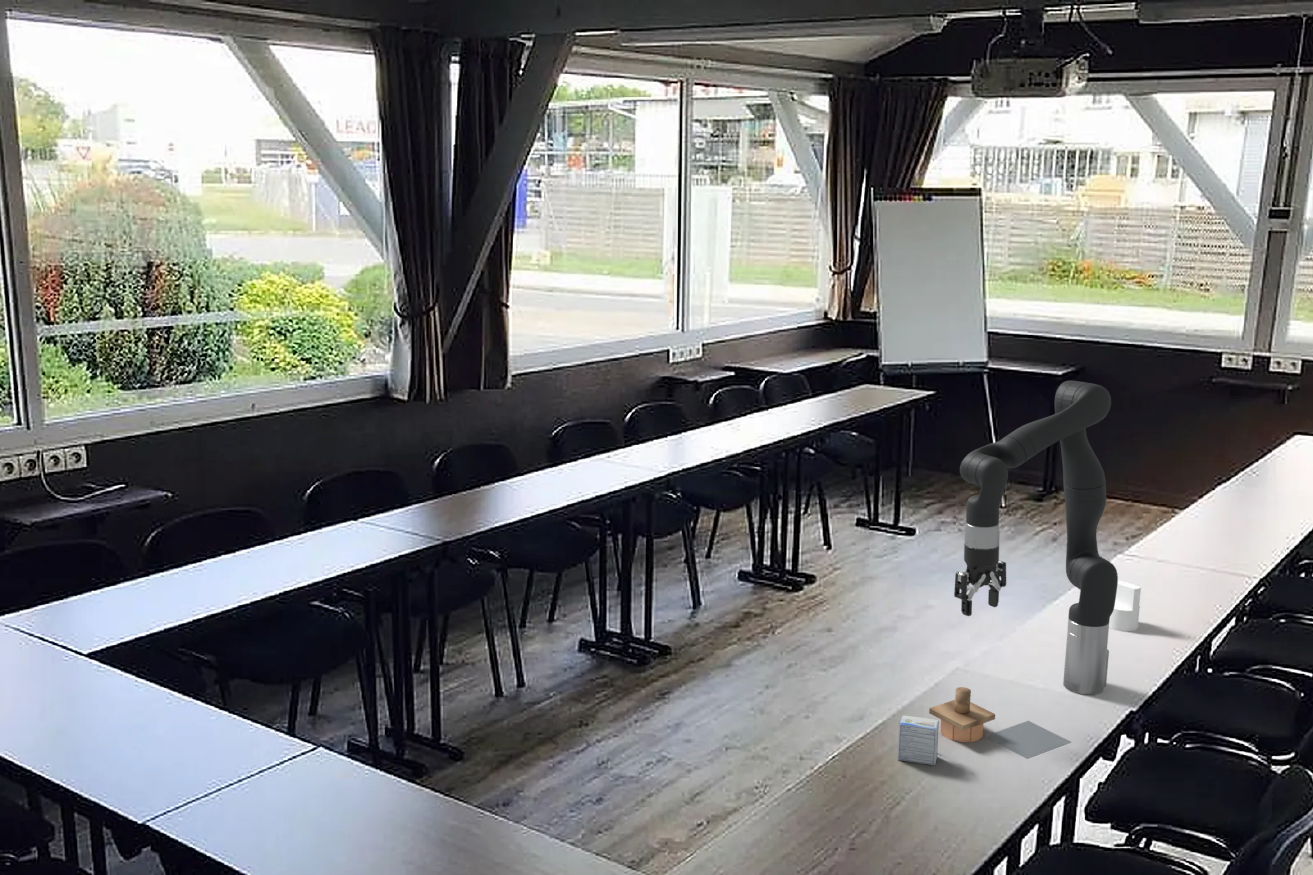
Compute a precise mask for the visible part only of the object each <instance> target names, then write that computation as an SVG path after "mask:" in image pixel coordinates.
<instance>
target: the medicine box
mask: <svg viewBox="0 0 1313 875" xmlns="http://www.w3.org/2000/svg"><path fill="white" fill-rule="evenodd" d="M939 729H940V722H939V720H938V719H932V718H927V717H920V716H919V717H918V716H911V715H905V714H904V715H902V716H901V719H900V721H899V724H898V745H897V746H898V750H897V761H902V762H910V763H917V764H923V765H929V766H936V764H937V763H936V762H937V758H938V747H939Z"/></svg>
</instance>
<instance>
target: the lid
mask: <svg viewBox="0 0 1313 875" xmlns="http://www.w3.org/2000/svg"><path fill="white" fill-rule="evenodd" d="M971 690H972V689H971V688H968V687H963V686H960V687H956V688H955V697H954V699H953V700H950V701H947V702H944V703H941V704H939V705H935V706H932V707H930V708H929V710H928V714H929V715H931V716H934V717H935V718H938V719H939V720H940V721H941V720H943V721H945V722H947V723H949V724H951V725H953V726H955V727H957V728H958V729H960V730H962V731H963V730H966V729H969V728H972V727H975V726H977V725H980V724H983V725H984V724H985V723H988V722H991V721H993V720H996V713H994V712H992V711H990V710H988V709H985V708H984V707H982V706H980V705H978V704H975V703H973V702H971V696H972V695H971V693H972V691H971Z"/></svg>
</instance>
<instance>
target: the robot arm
mask: <svg viewBox="0 0 1313 875" xmlns="http://www.w3.org/2000/svg"><path fill="white" fill-rule="evenodd" d="M1054 395H1055V396H1054V412H1055V413H1054V414H1052V415H1049V416H1047V417H1043V418H1041V419H1040V418H1039V419H1037V420H1035V421H1032V422H1028V423H1026V424H1024V425H1021V426H1020V427H1018V428H1016V429H1015V430H1014V431H1012V432H1010V433H1008V434H1007V435H1006V436H1003V438H1001V439H1000V440H997V441H995V442H992V443H988V444H986V445H984V446H981V447H979V448H977V449H974V450H972V451H971V452H969V453H968V454H966V456H965V457H964V458H963V459H962V461H961V463H960V466H959V473H960V476H961V478H962V479H963V480H964V481H965V482H967V483H969V484H970V485H971V484H972V485H975V486H977V487H980V492H979V494H974V495H972V496H970V497H969V498H968V499H967V502H966V512H965V514H966V515H965V528H964V538H963V539H964V540H963V541H964V544H963V546H964V547H963V561H964V562H965V565H966V568H965V571H963V572H960V571H956V572H955V575H954V576H955V580H954V594H953V595H954V598H957V599H959V600H961V601H960V602H961V606H960V607H961V610H960V611H961V613H962V615H963V616H967V617H970V616H972V615H973V611H972V610H973V600H972V599H973V596H974V595H975V594H976V593H977V592H978V591H979V589H980V588H982V587H984V586H987V587H988V588H989V589H988V598H987V599H988V601H987V602H988V603H987V604H988V605H989V606H991V607H993V608H997V607H998V606H999V602H1000V599H999V598H1000V591H1001V590H1002V588H1005V587H1006V586H1007V562H1005V561H1002V560H1000V536H1001V535H1000V523H999V522H1000V505H1001V502H1002V499H1003V496H1004V492H1005V490H1006V486H1007V482H1008V478H1009V472H1008V471H1009V470H1008V469H1015V468H1018V467H1020V466H1021V465H1023V464H1025V463H1026V462H1027V461H1029V460H1030V459H1031V458H1033V457H1034V456H1036V455H1038V453H1040V452H1042V451H1044V450H1045V449H1047V448H1048V447H1050V446H1051V445H1054V444H1056V443H1057V442H1059V444H1060V449H1061V450H1060V452H1061V460H1062V461H1061V462H1062V473H1063V474H1062V475H1063V498H1064V504H1065V521H1066V522H1065V523H1066V524H1065V525H1066V554H1065V555H1066V556H1065V572H1066V578H1067V580H1068V581H1069V583H1070V584H1071V585H1072V586H1074V587H1075V588H1077V589H1078V590H1079V591H1080V592H1079V599H1078V602H1077V603H1076V602H1075V603H1073V604H1072V605H1070V607H1069V609H1068V620H1067V633H1066V643H1065V644H1066V645H1065V657H1064V670H1063V681H1062V682H1063V687H1064V688H1066V689H1067V690H1068V691H1070V692H1073V693H1077V694H1082V695H1098V694H1100V693H1102V692H1103V691H1104V689H1105V687H1107V680H1108V666H1109V656H1110V650H1109V649H1108V643H1109V642H1108V641H1109V630H1110V628H1109V620H1110V616H1111V614H1112V612H1113V610H1114V606H1115V599H1116V592H1117V585H1118V580H1119V579H1118V578H1119V576H1118V570H1117V568H1116V566H1115V564H1113V563H1112V562H1111V561H1108V560H1107V559H1106V558H1104V557H1102V556H1101V555H1100V554H1099V549H1098V541H1097V531H1098V525H1099V523H1100V520H1101V518H1102V516H1103V513H1104V511H1105V508H1106V504H1107V488H1106V486H1107V485H1106V475H1105V472H1104V470H1103V467H1102V465H1101V463H1100V460H1099V459H1098V457H1097V456H1096V454H1095V452H1094V450H1093V448H1092V446H1091V445H1090V442H1089V439H1088V436H1087V430H1086V428H1089V427H1091V426H1093V425H1095V424H1098V423H1100V422H1101V421H1102V420H1104V418H1106V417H1107V416H1108V413H1109V412H1110V410H1111V405H1112V398H1111V395H1110V392H1109V390H1108V389H1107V388H1106V387H1104V386H1102V385H1100V384H1096V383H1090V382H1085V381H1078V380H1066V381H1063V382H1062V383H1060V385H1059V386H1058V388H1057V389H1056V392H1055V394H1054ZM971 585H972V586H971ZM968 591H969V592H968ZM967 593H968V594H967Z"/></svg>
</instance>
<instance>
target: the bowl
mask: <svg viewBox="0 0 1313 875" xmlns="http://www.w3.org/2000/svg"><path fill="white" fill-rule="evenodd" d="M940 733H941V735H943V737H945V738H947V739H949V740H952V741H955V742H959V743H973V742H977V741H979V740H980V739H982V738H983V734H984V723H983V724H980V725H977V726H975V727H972V728H969V729H966V730H963V731H962V730H960V729H958V728H957V727H955V726H953V725H951V724H949V723H947V722H945V721H943V720H941V719H940Z"/></svg>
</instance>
